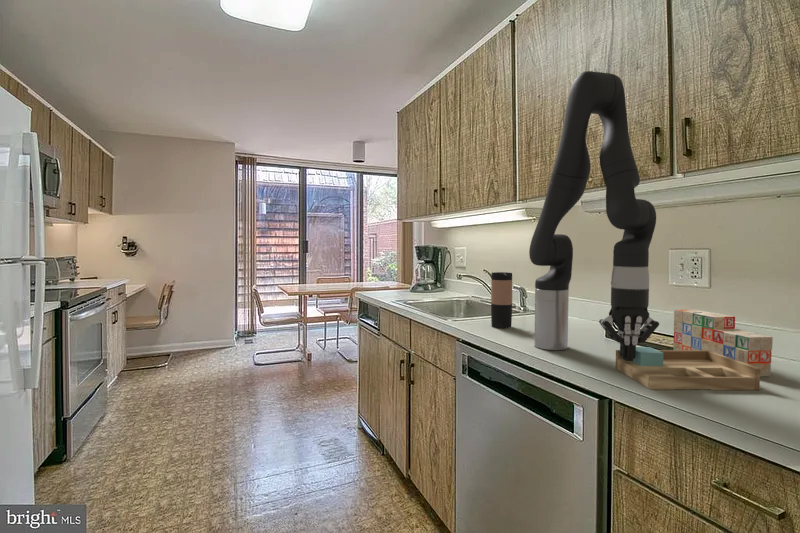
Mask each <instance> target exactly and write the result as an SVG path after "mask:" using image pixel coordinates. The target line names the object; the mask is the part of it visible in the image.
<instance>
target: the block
mask: <svg viewBox="0 0 800 533" xmlns="http://www.w3.org/2000/svg"><path fill="white" fill-rule="evenodd" d="M658 350H659V349H655V348H653V347H650V346H636V357H635V359H633V361H632V362H634V363H636V364H638V365H640V366H663V354H664V353H663V352H660V351H658Z"/></svg>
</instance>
